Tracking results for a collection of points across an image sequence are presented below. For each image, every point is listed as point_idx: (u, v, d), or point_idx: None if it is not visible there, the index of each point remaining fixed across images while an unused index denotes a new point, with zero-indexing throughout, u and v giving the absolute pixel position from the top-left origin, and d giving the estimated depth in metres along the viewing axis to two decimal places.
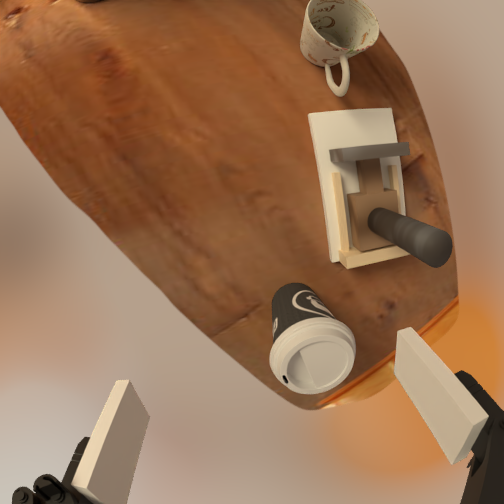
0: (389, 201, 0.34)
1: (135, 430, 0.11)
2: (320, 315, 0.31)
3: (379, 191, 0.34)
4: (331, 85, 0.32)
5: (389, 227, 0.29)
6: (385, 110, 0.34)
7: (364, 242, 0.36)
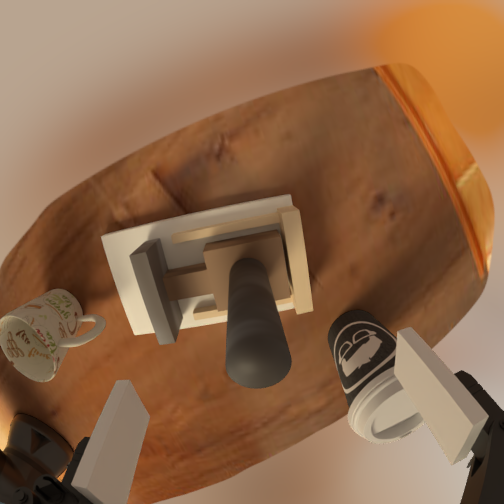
0: (219, 262, 0.27)
1: (135, 430, 0.11)
2: (351, 393, 0.23)
3: (207, 276, 0.27)
4: None
5: None
6: (105, 245, 0.29)
7: (278, 293, 0.28)
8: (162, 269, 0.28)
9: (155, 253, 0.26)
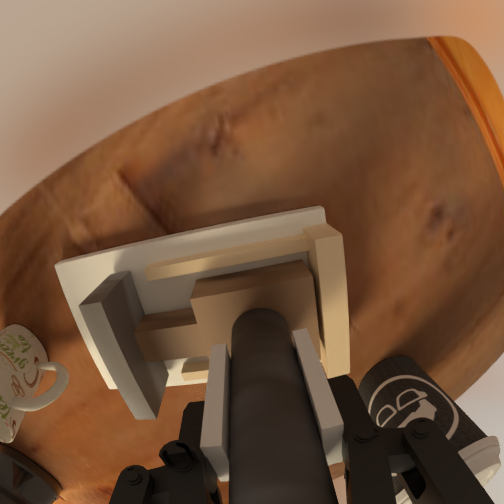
0: (217, 314, 0.17)
1: None
2: (395, 479, 0.14)
3: (199, 333, 0.18)
4: None
5: None
6: (61, 277, 0.19)
7: None
8: (134, 317, 0.18)
9: (120, 297, 0.17)
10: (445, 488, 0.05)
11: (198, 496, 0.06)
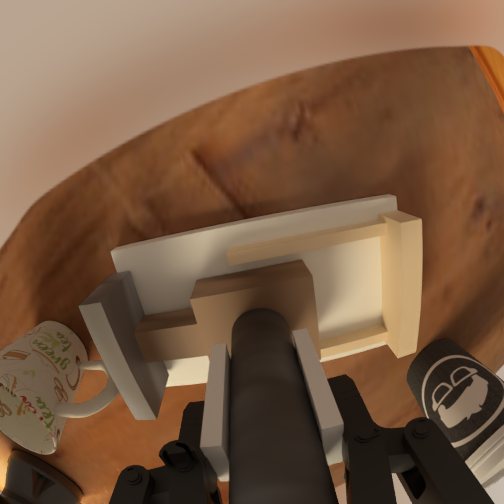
0: (217, 314, 0.17)
1: None
2: (459, 449, 0.14)
3: (199, 333, 0.18)
4: None
5: None
6: (118, 265, 0.19)
7: None
8: (134, 318, 0.18)
9: (120, 298, 0.17)
10: (445, 488, 0.05)
11: (198, 496, 0.06)
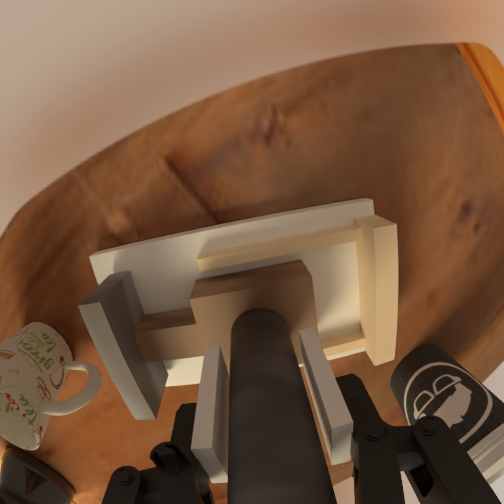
0: (216, 315, 0.17)
1: (227, 394, 0.13)
2: None
3: (198, 333, 0.18)
4: None
5: None
6: (96, 269, 0.19)
7: None
8: (133, 317, 0.18)
9: (119, 297, 0.17)
10: (453, 486, 0.05)
11: (189, 497, 0.06)
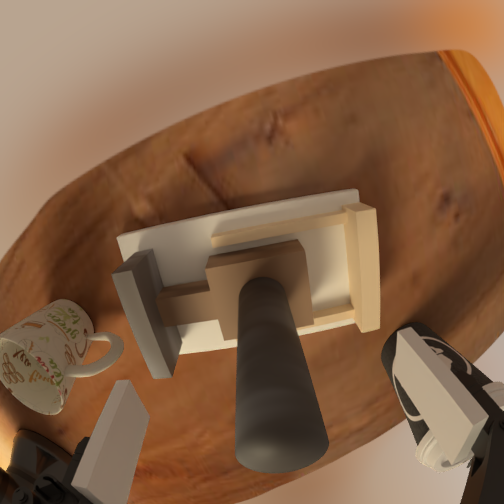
0: (226, 282, 0.21)
1: (135, 430, 0.11)
2: (422, 422, 0.18)
3: (211, 299, 0.22)
4: None
5: None
6: (123, 248, 0.23)
7: (299, 320, 0.22)
8: (155, 288, 0.22)
9: (145, 269, 0.21)
10: None
11: None
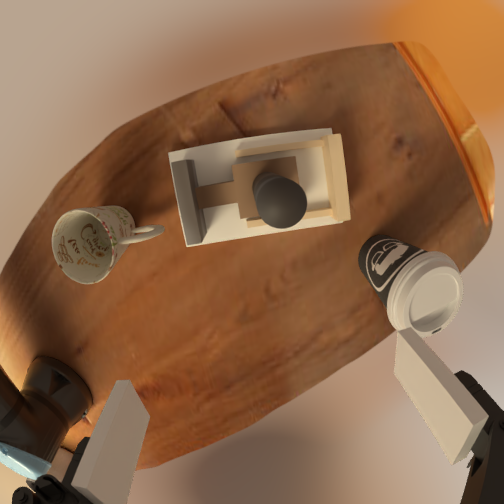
0: (245, 174, 0.32)
1: (135, 430, 0.11)
2: (388, 284, 0.28)
3: (234, 187, 0.32)
4: None
5: None
6: (171, 160, 0.34)
7: None
8: (195, 182, 0.33)
9: (191, 166, 0.32)
10: None
11: None
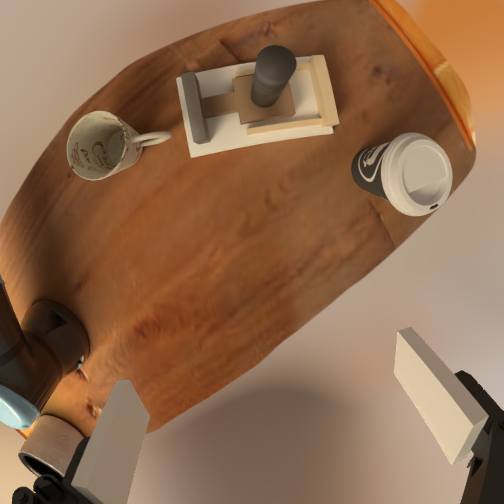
0: (244, 85, 0.33)
1: (135, 430, 0.11)
2: (380, 164, 0.30)
3: (234, 96, 0.34)
4: (161, 140, 0.36)
5: (265, 97, 0.29)
6: (179, 84, 0.36)
7: (286, 109, 0.34)
8: (200, 96, 0.34)
9: (197, 81, 0.33)
10: None
11: None
